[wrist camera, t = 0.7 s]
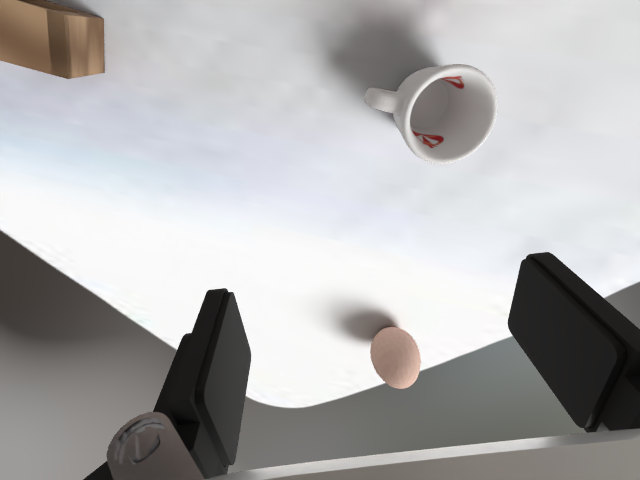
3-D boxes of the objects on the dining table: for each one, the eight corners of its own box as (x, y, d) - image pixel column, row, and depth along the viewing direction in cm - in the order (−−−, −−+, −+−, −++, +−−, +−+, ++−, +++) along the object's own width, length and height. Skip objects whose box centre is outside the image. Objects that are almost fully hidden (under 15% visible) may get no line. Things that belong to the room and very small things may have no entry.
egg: (390, 308, 50) (407, 359, 42) (419, 330, 52) (440, 382, 44) (356, 334, 52) (367, 387, 44) (386, 354, 54) (401, 408, 47)
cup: (348, 129, 37) (359, 150, 30) (368, 44, 33) (386, 46, 26) (443, 147, 38) (475, 171, 31) (473, 68, 34) (516, 76, 28)
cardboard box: (8, -11, 30) (-54, -21, 24) (103, 18, 31) (64, 14, 26) (15, 47, 32) (-41, 49, 27) (104, 72, 33) (67, 78, 28)
